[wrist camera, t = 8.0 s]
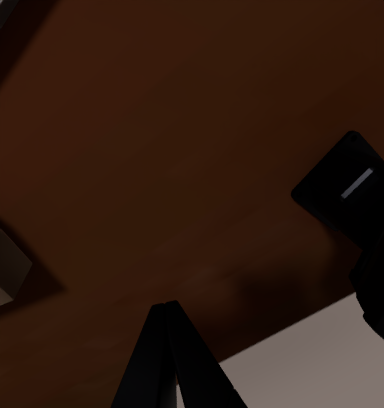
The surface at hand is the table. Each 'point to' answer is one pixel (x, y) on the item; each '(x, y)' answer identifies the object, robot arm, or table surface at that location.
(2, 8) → the picture frame
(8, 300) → the streaky grey slab
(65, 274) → the table surface
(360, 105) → the table surface
